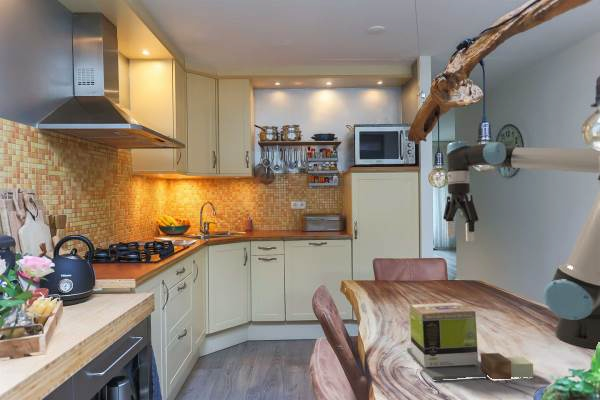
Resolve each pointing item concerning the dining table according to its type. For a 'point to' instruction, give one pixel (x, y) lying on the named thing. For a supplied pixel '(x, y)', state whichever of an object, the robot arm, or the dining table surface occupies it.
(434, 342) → the tea box
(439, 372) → the block
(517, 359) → the sage painted block
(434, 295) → the dining table surface
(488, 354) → the walnut cube
